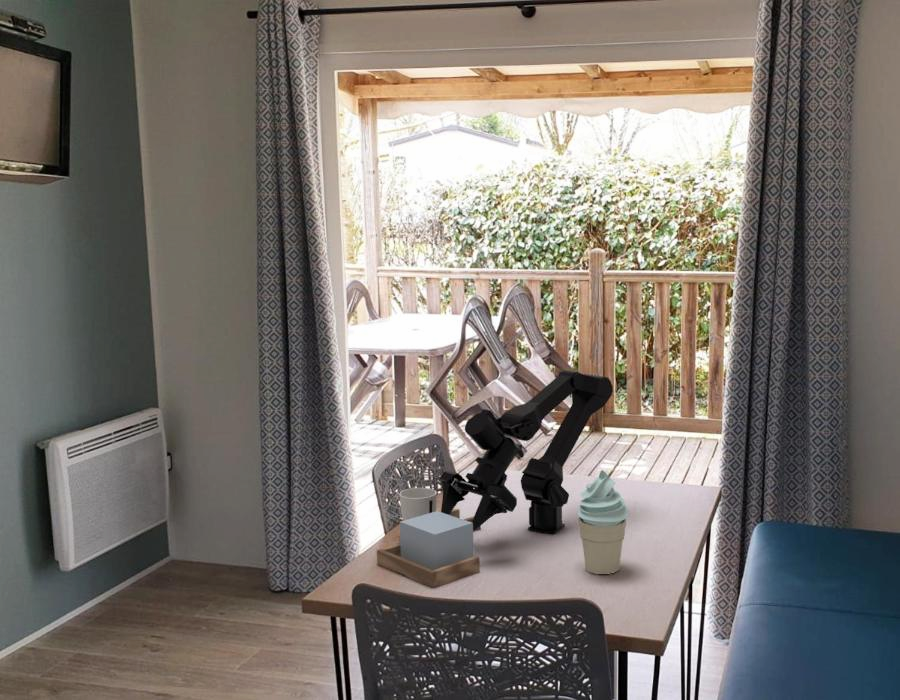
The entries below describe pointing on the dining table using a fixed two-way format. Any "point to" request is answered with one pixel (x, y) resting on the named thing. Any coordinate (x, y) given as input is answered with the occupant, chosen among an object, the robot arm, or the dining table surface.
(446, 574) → the bay
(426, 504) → the cup
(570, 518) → the dining table surface
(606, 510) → the ice cream cone
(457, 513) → the narrow slot
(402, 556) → the tea caddy
